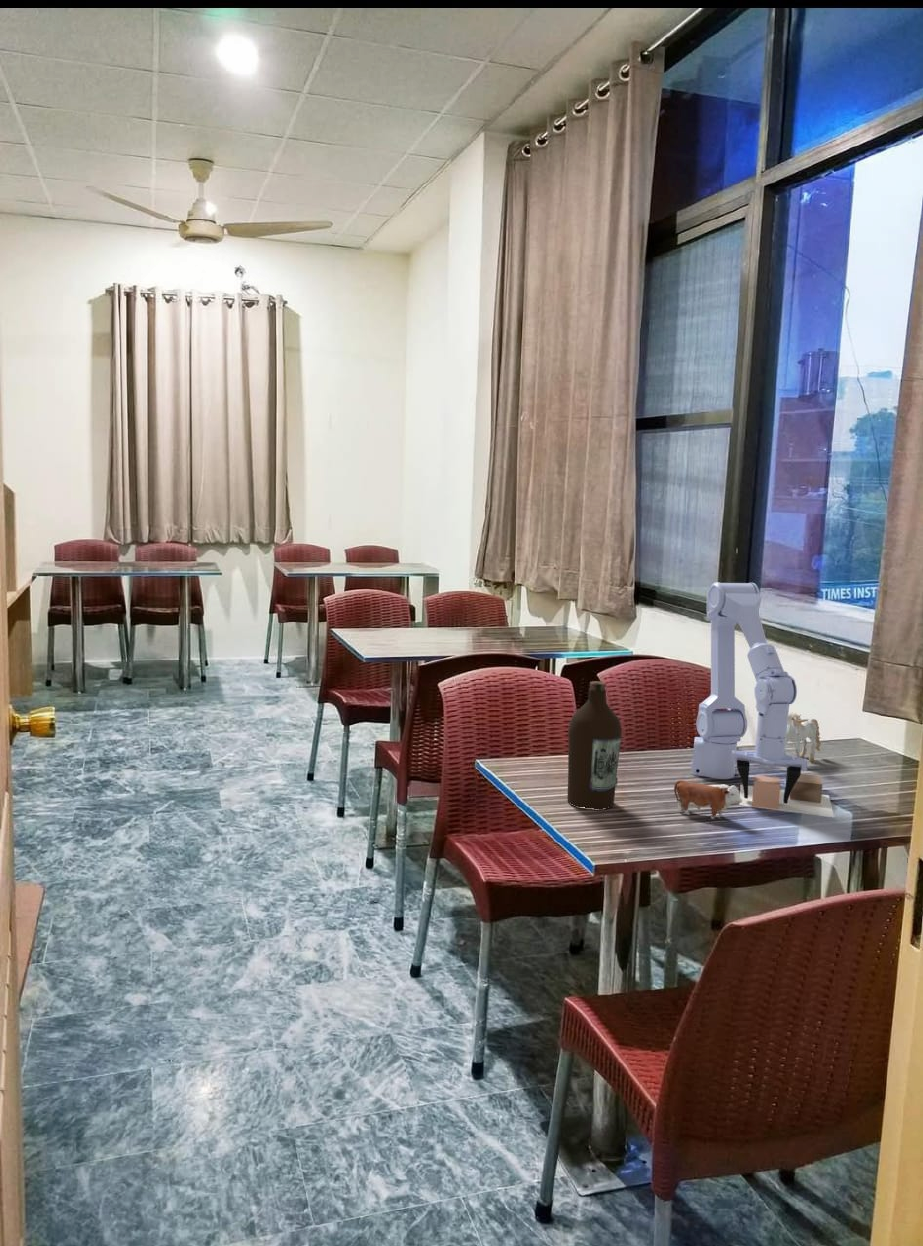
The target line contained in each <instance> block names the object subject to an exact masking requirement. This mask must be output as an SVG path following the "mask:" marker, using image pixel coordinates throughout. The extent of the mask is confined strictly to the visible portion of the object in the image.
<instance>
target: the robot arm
mask: <svg viewBox="0 0 923 1246" xmlns="http://www.w3.org/2000/svg"><path fill="white" fill-rule="evenodd" d="M761 603H762V597H761V591H760V589H759V587H758V585H757V584H756V583H754V582H748V583H747V582H719V581H716V582H713V583H712V584H711V586H709V589H708V590H707V592H706V618H707V620H708V621H710V695H709V696H708V697H707V698H705V700H703V701H702V702H700V703H699V704H698V713H697V716H696V717H697V718H696V729H697V730H696V731H697V733H698V734H699V736H695V737H694V740H693V741H694V743H693V753H692V760H691V763H690V769H691V775H693V776H699V777H700V776H701V777H706V778H712V779H718V780H728V779H733V778H735V772H736V771H735V770H736V768H737V771H738V774H739V776H740V779H741V785H743V789H744V798H747V799H748V786H749V777H750V764H756V765H764V766H772V767H779V768H780V767H782V768H786V777H785V786H784V790H785V791H784V799H783V801H784V803H786V804H787V802H788V798H789V795H790V793H791V790H792V788H793V786H794V785H795V783H796V781H797V780H798V778H799V777H800V775H801V774H802V772H801V771H808V762H809V760H808V758H805V757H804V758H798V757H797V756H793V755H788V754H786V753H785V752H786V745H787V744H786V734H787V726H788V725H787V724H788V715H789V714H790V713H789V712H790V711H789V709H790V705H792V704H793V703H794V702H795V701H796V700H797V694H798V688H797V683H796V680H795V679H794V677H792V676H791V675H790V674H789V673H788V672H787V671H786V670H785V671H784V667H783V665H782V663H781V660H780V657H779V654H778V653H777V650H776V648H775V646H774V645H773V644H771V643H768V641H767V637H766V635H765V630H764V627H763V624H762V620H761V616H760V612H759V610H760V608H761ZM737 624H738V625H739V628H740V630H741V631H742V633H743V636H744V638H745V640H746V642H747V644H748V647H749V650H748V652H747V657H746V658H747V659H748V662H749V664H750V668H751V670H752V673H753V676H754V678H755V679H754V680H755V681H756V683H755V686H754V699H755V701H756V702H755V703H756V704H755V709H756V711H757V712H758V717H757V725H756V737H755V738H756V739H755V748H754V750H752V751H751V750H749V751H748V750H737V747H738V742H741V738H743V737H744V736H745V734H746V733H747V730H748V719H747V715H746V707H745V704H744V703H743V702H741V701H740V700H739V699H738V698H737V697H736V695H735V694H736V693H735V692H736V691H735V690H736V686H735V682H736V681H735V680H736V673H735V670H736V667H735V666H736V663H735V661H736V658H735V656H736V652H735V651H736V650H735V648H736V646H735V644H736V641H735V640H736V639H735V638H736V637H735V630H736V629H735V628H736V625H737ZM785 754H786V755H785ZM697 770H699V771H697Z"/></svg>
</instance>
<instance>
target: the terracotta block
mask: <svg viewBox="0 0 923 1246" xmlns="http://www.w3.org/2000/svg"><path fill="white" fill-rule="evenodd" d="M752 786H753V797H752V806H757V807H765V808H772V809H778V806H779V796H780V790H781V778H780V777H775V776H773V777H772V776H767V775H757V774H754V777H753V785H752ZM757 807H756V808H757ZM765 808H764V809H765ZM772 809H771V810H772Z"/></svg>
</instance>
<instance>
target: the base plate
mask: <svg viewBox="0 0 923 1246" xmlns="http://www.w3.org/2000/svg"><path fill="white" fill-rule="evenodd" d="M753 786H754V785H748V799H747V798H744V789H743V784H740V786H739V793H740V798H741V799H742V802H741V803H738V806H743V807H744V806H745V807H750V808H756V809H757V808H759V809H767V810H774V811H780V812H788V813H789V812H790V813H796V814H805V815H811V816H817V817H818V816H820V817H826V818H827V817H828V818H835V816H834V811H833V807H832V803H831V798H830V795H827V794H822V795H821V803H815V802H807V801H799V800H792V799H790V795H789V798H788V802H787V804H786V803H784V801H783V799H784V791H785V789H780V796H779V806H778V809H772V808H765V807H757V806H752V797H753Z"/></svg>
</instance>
